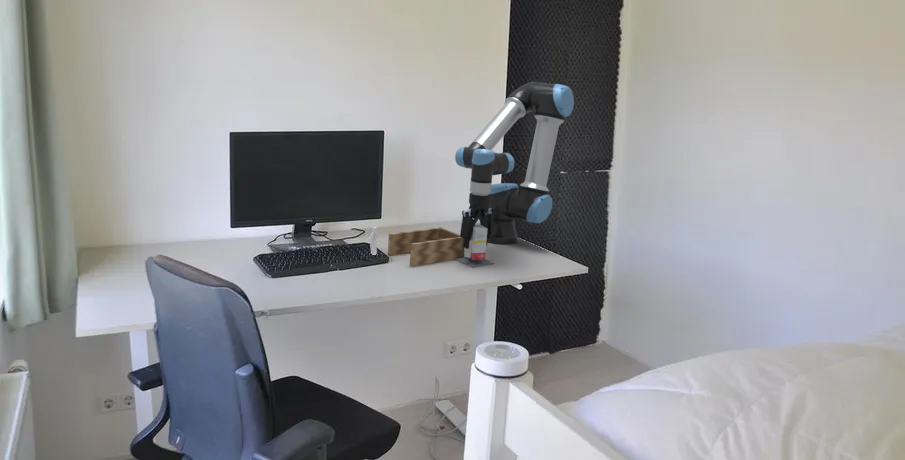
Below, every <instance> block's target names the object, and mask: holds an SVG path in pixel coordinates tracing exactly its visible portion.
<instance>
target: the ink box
mask: <svg viewBox="0 0 905 460" xmlns="http://www.w3.org/2000/svg"><path fill="white" fill-rule="evenodd" d="M486 239H487V228H485V227H484V226H483V225H481V224H480V222H476V224H475V227H473V233H472V236H471V239H470V240H472V249H471V259H472V260H486V253H485V251H486V250H487V246H486Z"/></svg>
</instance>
